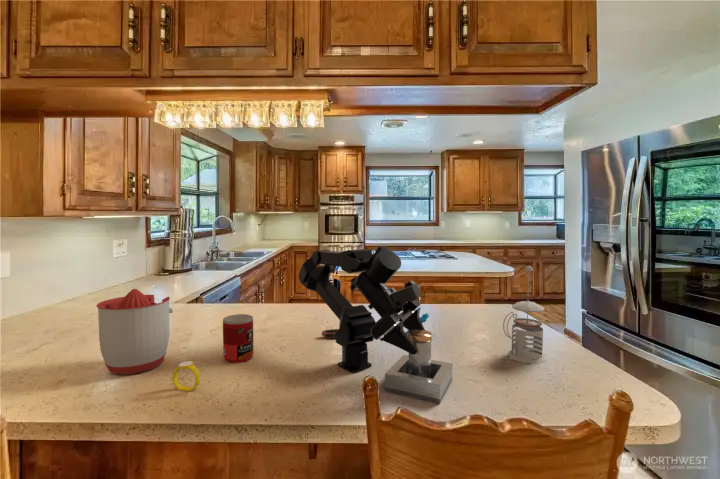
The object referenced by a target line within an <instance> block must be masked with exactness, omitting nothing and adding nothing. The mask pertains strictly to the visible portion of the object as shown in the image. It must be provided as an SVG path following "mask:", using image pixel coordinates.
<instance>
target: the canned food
mask: <svg viewBox="0 0 720 479" xmlns="http://www.w3.org/2000/svg"><path fill="white" fill-rule="evenodd" d="M222 345H223V346H222V349H223V359H224V361H225V362H227V363H230V364H240V363H245V362H248V361H250V360H251V359H252V358H253V357H254V316H252V315H250V314H246V313H245V314H243V313H237V314H232V315H230V314H229V315H227V316H225V317H223V318H222Z"/></svg>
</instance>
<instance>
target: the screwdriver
mask: <svg viewBox="0 0 720 479" xmlns="http://www.w3.org/2000/svg"><path fill="white" fill-rule="evenodd" d="M338 329H339V328H332V329H331V328H330V329H324V330H322V332H321V336H322V337H324V338H329V339H330V338H331V339H335V333H336V332H337V331H338Z"/></svg>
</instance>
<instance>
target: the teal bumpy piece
mask: <svg viewBox="0 0 720 479" xmlns="http://www.w3.org/2000/svg"><path fill="white" fill-rule="evenodd" d="M429 317H430V314H429V313H428V312H426V313H423V314H422V316H419V318H420V320H421V322H422V324H423V323H426V322H427V319H428V318H429ZM408 332H409V330H408V329H407V331H406V332H405V333H406V335H407V336H408Z"/></svg>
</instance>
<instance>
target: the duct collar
mask: <svg viewBox="0 0 720 479" xmlns="http://www.w3.org/2000/svg"><path fill="white" fill-rule="evenodd" d="M384 376H385V378H384V385H385V386H384V389H385V390H384V392H385V393H386V392H387V393H391V394H395V395H399V396H404V397H407V398H411V399H416V400H421V401H425V402H428V403H429V402H430V403H434V404H437V405H440V404H441V402H442V401H443V399H444V397H445V395H446V393H447V391H448V390H449V387H450V385H451V383H452V381H453V362H452V363H451V362H446V361H440V360H434V359H431V379H430V378H425V377H420V376H416V375H411V374H408V354H402V356H401V357H400V358H399V359H398V360H397V361H396V362H395V363H394V364H393V365H392V366H391V367H390V368H389V369H388V370H387V371H386V372H385V373H384Z"/></svg>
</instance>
